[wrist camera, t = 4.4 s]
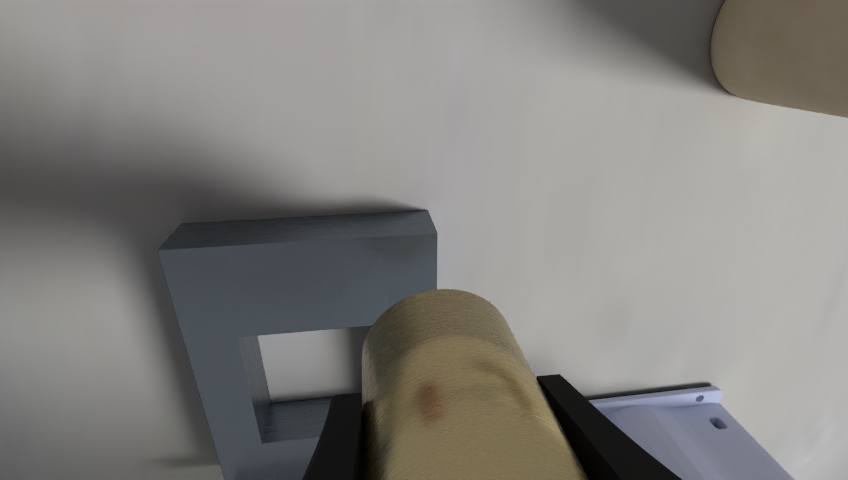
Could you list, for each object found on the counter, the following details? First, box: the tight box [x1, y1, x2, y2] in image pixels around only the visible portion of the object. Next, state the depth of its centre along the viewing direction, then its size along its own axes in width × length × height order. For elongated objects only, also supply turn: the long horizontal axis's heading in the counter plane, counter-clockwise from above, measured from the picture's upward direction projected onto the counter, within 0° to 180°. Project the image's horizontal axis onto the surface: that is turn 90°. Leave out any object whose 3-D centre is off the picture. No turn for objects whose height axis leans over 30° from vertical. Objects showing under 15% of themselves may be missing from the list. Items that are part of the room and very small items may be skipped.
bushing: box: [362, 289, 589, 480], centre depth 10 cm, size 4×4×6 cm
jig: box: [157, 210, 437, 480], centre depth 19 cm, size 10×14×4 cm
